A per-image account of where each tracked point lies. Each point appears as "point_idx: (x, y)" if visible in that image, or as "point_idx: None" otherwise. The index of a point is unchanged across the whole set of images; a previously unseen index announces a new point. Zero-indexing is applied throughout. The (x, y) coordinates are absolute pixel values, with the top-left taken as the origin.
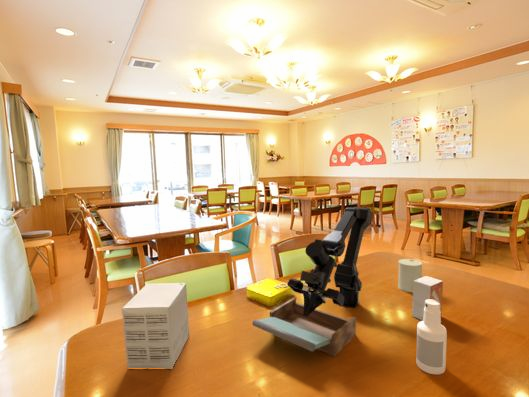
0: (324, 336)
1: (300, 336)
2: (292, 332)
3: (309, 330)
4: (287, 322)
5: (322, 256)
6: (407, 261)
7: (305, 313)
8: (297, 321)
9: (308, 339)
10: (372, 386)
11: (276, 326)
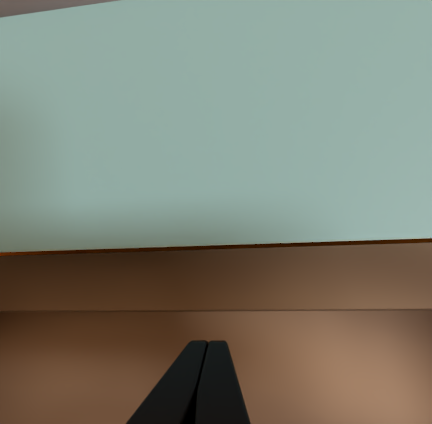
0: (19, 307)
1: (71, 44)
2: (160, 48)
3: (160, 308)
4: (376, 229)
5: None
6: None
7: (192, 357)
8: None
9: (4, 59)
10: None
11: (340, 14)
